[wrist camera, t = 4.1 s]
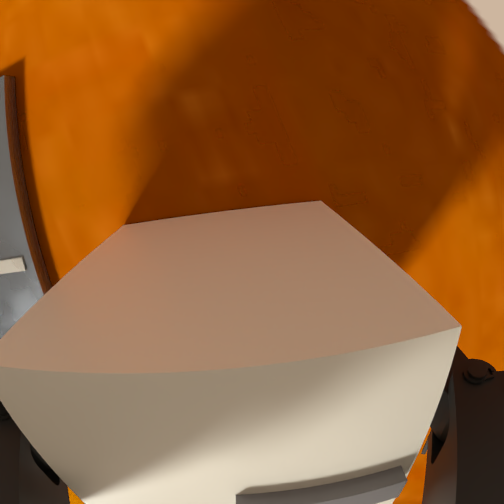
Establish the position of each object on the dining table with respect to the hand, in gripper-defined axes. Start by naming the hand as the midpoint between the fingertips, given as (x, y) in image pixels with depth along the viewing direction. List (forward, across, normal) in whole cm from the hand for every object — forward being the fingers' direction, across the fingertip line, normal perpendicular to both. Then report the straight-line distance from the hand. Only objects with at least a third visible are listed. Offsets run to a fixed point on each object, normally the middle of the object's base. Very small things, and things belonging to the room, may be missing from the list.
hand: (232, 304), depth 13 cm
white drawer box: (0, 0, 0) cm, 0 cm away
